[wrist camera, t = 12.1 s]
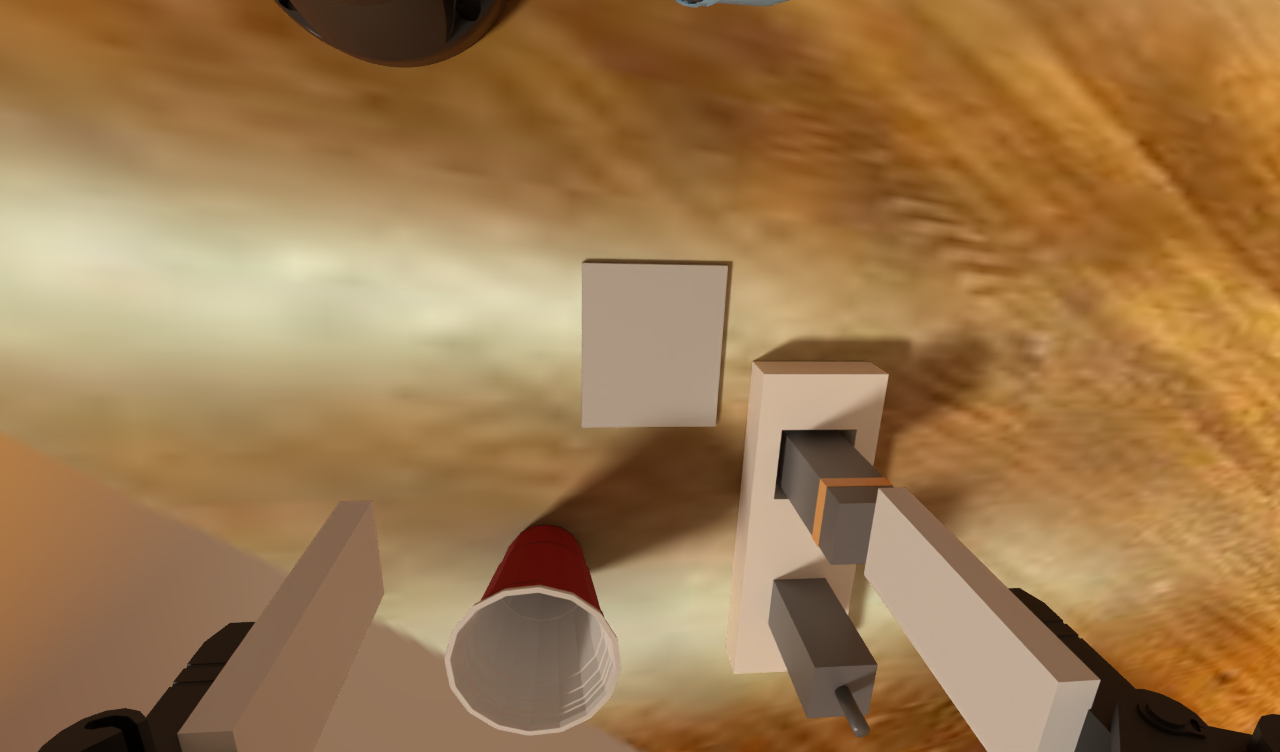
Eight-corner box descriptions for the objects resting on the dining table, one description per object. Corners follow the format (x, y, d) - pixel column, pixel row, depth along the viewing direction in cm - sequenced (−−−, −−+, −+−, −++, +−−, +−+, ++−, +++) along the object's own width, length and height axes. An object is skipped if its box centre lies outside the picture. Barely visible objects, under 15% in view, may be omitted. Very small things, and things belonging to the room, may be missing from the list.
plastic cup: (549, 466, 47) (540, 562, 35) (639, 556, 50) (657, 670, 39) (443, 550, 48) (402, 668, 37) (537, 632, 52) (526, 763, 40)
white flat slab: (582, 262, 42) (582, 263, 42) (726, 264, 43) (728, 266, 43) (581, 425, 46) (581, 427, 46) (714, 424, 47) (715, 426, 47)
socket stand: (752, 361, 46) (831, 449, 31) (869, 361, 47) (997, 447, 32) (725, 647, 54) (778, 818, 40) (825, 642, 55) (911, 808, 41)
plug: (776, 422, 47) (839, 503, 36) (830, 422, 48) (909, 501, 37) (771, 473, 49) (829, 565, 38) (823, 472, 49) (897, 563, 38)
